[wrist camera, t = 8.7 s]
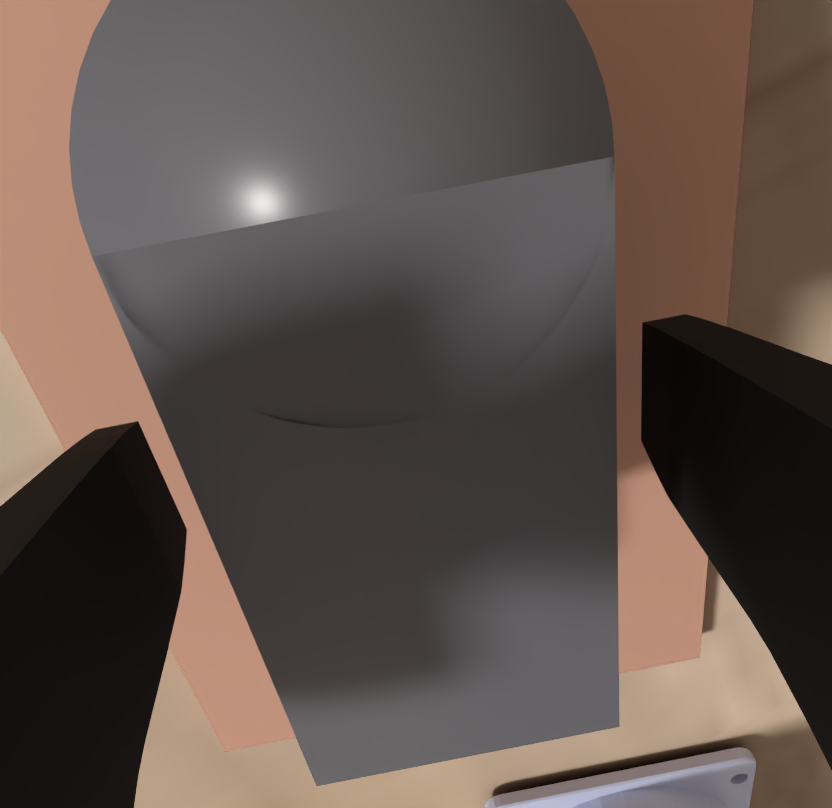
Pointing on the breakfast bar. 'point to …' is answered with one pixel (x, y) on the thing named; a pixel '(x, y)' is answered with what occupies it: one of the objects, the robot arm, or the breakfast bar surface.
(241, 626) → the rubber mat
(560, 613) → the grey round-top block
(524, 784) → the breakfast bar surface
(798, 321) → the breakfast bar surface
